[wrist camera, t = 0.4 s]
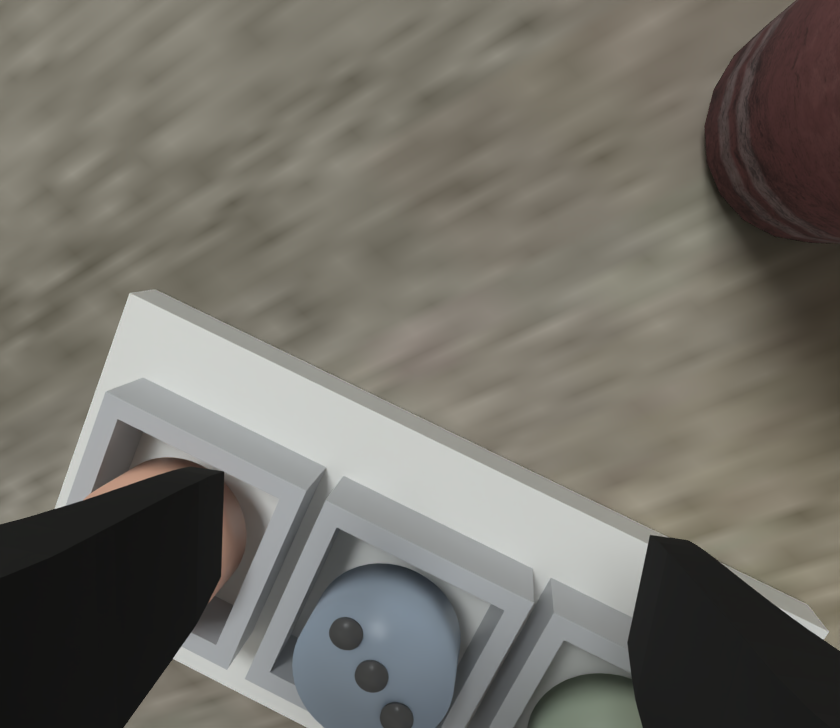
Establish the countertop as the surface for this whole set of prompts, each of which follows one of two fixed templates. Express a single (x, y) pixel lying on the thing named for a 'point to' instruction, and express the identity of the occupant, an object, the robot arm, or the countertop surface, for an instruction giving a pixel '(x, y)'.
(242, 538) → the terracotta one pip button
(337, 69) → the countertop surface
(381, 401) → the button panel
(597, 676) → the sage two pip button
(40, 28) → the countertop surface
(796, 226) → the can
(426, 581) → the slate three pip button
